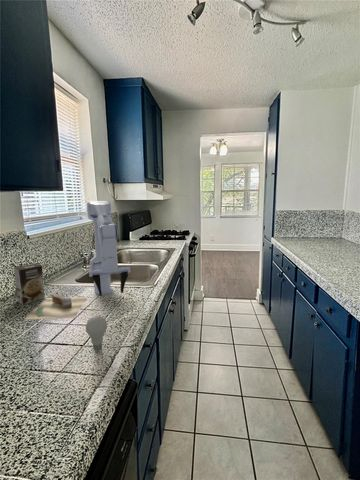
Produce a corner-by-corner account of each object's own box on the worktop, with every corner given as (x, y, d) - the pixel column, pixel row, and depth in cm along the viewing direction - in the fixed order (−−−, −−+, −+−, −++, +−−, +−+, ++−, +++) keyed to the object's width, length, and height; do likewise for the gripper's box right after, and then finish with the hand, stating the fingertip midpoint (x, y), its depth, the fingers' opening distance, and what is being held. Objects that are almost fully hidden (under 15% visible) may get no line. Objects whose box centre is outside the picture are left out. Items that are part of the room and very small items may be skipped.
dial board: (47, 300, 113) (46, 297, 113) (88, 298, 114) (88, 296, 114) (24, 321, 93) (23, 318, 93) (74, 320, 95) (74, 317, 95)
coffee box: (23, 307, 105) (19, 270, 103) (17, 303, 109) (13, 267, 107) (45, 300, 113) (42, 265, 110) (38, 296, 116) (35, 262, 114)
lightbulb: (100, 342, 81) (99, 310, 79) (112, 349, 77) (110, 316, 75) (83, 351, 76) (81, 317, 74) (94, 359, 72) (92, 324, 70)
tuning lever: (73, 305, 105) (73, 298, 104) (65, 308, 101) (65, 301, 101) (56, 299, 110) (55, 293, 110) (48, 302, 107) (47, 296, 107)
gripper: (88, 260, 86) (90, 299, 87) (130, 256, 91) (133, 293, 92) (88, 257, 93) (90, 294, 93) (128, 254, 98) (130, 289, 98)
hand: (111, 293), depth 93 cm, fingers open, 7 cm apart
